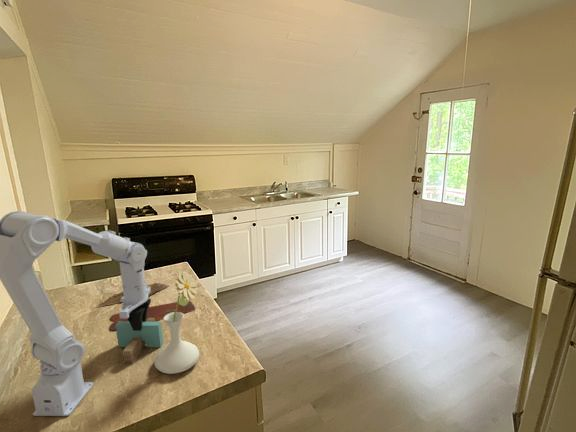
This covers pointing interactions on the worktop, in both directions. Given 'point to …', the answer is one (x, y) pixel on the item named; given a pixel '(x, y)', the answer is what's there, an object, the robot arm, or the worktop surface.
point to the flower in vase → (178, 332)
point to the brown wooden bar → (134, 347)
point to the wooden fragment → (117, 297)
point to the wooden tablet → (156, 312)
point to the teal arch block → (140, 333)
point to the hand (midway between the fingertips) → (139, 327)
